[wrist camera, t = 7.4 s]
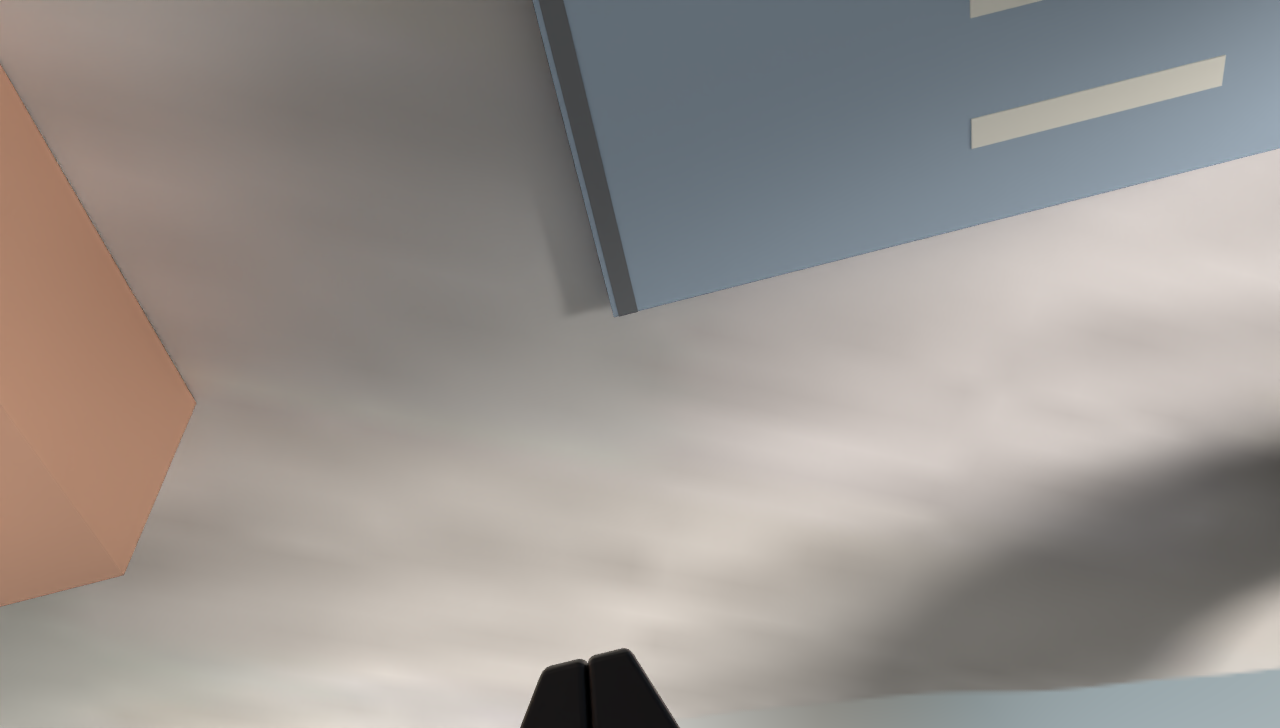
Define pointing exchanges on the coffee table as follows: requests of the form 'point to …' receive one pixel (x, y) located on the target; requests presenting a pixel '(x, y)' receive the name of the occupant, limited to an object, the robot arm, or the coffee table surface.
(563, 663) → the robot arm
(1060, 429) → the coffee table surface
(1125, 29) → the blue book
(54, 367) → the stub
